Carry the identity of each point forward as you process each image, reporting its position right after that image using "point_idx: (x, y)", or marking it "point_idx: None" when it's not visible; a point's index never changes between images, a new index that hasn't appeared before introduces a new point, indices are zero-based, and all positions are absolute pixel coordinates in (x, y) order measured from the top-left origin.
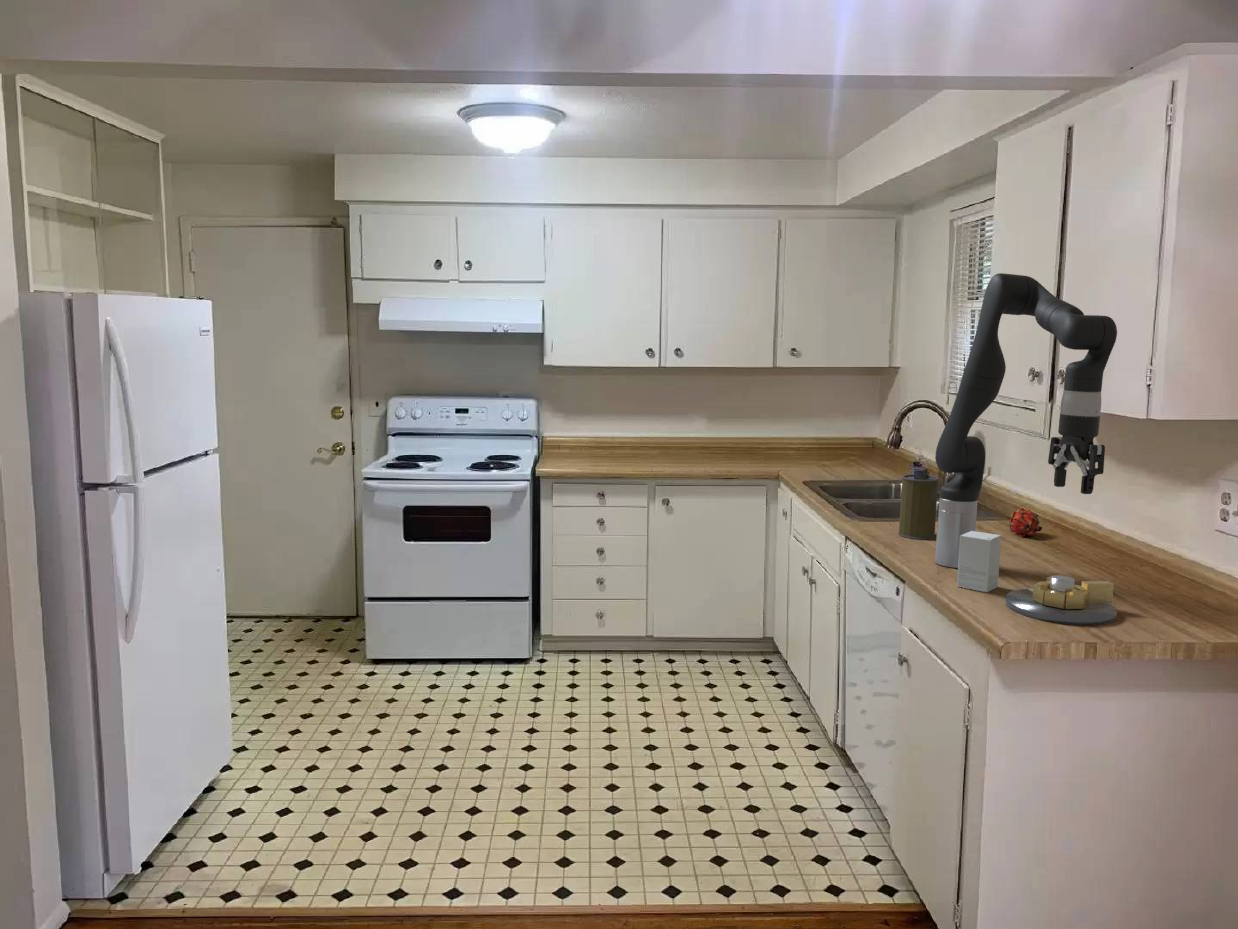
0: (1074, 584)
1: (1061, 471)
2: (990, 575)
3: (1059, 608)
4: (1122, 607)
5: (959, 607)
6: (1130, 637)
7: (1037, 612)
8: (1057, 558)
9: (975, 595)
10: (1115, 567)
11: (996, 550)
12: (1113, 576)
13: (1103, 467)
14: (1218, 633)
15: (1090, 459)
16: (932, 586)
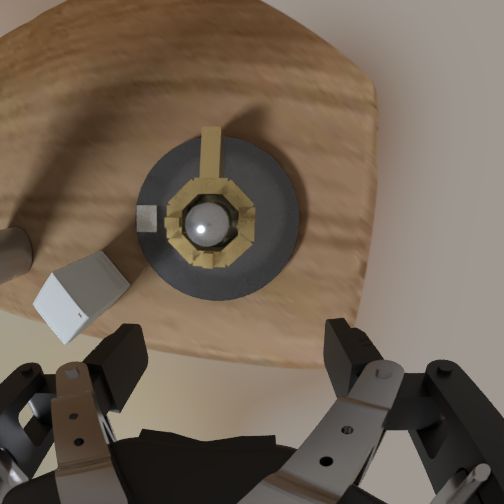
0: (187, 183)
1: (114, 386)
2: (114, 286)
3: None
4: (213, 108)
5: (200, 357)
6: (352, 197)
7: (260, 288)
8: (12, 96)
9: (143, 307)
10: (53, 39)
11: (81, 282)
12: (79, 52)
13: (471, 381)
14: (341, 63)
15: (438, 479)
16: None
